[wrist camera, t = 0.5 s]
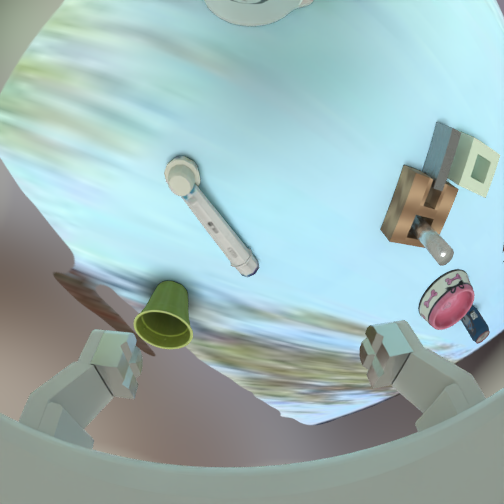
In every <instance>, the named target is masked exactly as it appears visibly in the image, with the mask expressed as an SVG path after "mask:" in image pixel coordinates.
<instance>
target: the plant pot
mask: <svg viewBox="0 0 504 504" xmlns="http://www.w3.org/2000/svg"><path fill="white" fill-rule="evenodd" d="M134 329H135V331H136V333H137V334H138V335H139V336H140V337H141V338H142V339H143V340H144V341H146V342H147V343H149V344H151V345H153V346H156V347H159V348H164V349H178V348H181V347H184V346H186V345H188V344H189V343H190V342H191V340H192V338H193V331H192V329H191V327H190V322H189V313H188V293H187V290H186V289H185V288H184V286H182V285H181V284H178V283H176V282H174V281H164V282H162V283H160V284H159V285H158V286H157V288H156V289H155V291H154V293H153V294H152V296H151V298H150V300H149V301H148V303H147V305H146V307H145V308H144V309H143V310H142V312H141V313H139V314H138V315H137V316H136V318H135V320H134Z"/></svg>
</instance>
